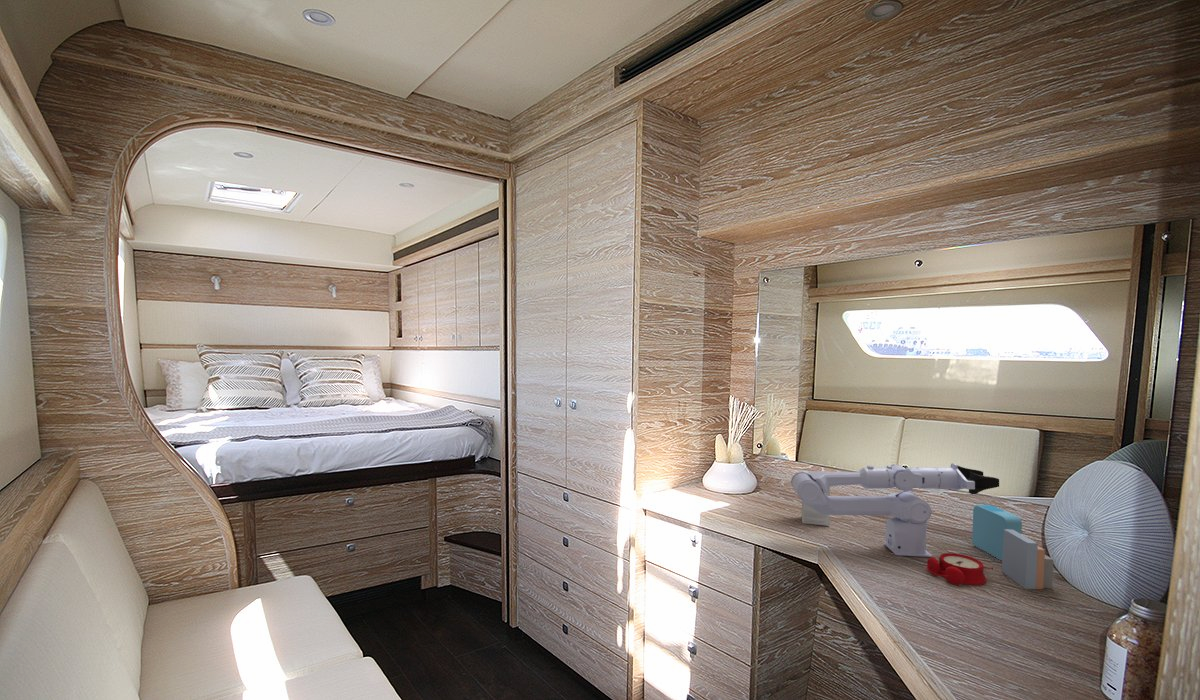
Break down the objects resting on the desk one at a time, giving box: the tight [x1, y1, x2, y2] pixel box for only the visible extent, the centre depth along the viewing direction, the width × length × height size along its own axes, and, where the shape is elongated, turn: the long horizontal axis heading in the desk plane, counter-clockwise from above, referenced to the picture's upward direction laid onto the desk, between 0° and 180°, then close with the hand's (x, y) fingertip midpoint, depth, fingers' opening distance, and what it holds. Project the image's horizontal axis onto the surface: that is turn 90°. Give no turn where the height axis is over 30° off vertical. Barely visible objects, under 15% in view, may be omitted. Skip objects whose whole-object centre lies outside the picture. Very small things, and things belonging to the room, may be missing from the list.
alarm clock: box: [925, 552, 994, 586], centre depth 135 cm, size 10×6×15 cm
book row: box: [1001, 529, 1054, 590], centre depth 134 cm, size 6×9×11 cm
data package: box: [971, 504, 1023, 561], centre depth 150 cm, size 12×4×12 cm, turn 3°
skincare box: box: [801, 470, 831, 527], centre depth 172 cm, size 8×7×16 cm
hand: (990, 478), depth 147 cm, fingers open, 7 cm apart
